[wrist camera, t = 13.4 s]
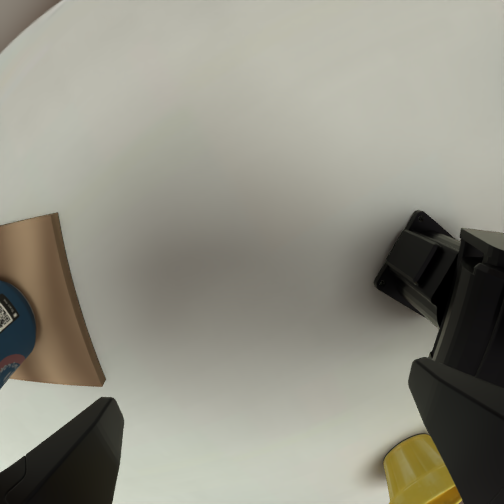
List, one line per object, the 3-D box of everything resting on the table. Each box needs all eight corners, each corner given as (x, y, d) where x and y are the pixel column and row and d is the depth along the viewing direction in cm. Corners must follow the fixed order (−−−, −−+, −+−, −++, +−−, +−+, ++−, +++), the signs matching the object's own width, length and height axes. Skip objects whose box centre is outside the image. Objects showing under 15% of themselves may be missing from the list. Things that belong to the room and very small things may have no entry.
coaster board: (57, 212, 19) (50, 215, 18) (105, 379, 23) (102, 386, 22) (-49, 238, 18) (-55, 241, 17) (-3, 370, 22) (-8, 375, 21)
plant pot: (455, 430, 29) (489, 479, 19) (397, 479, 31) (420, 530, 21) (420, 412, 27) (462, 475, 17) (352, 468, 28) (376, 533, 19)
